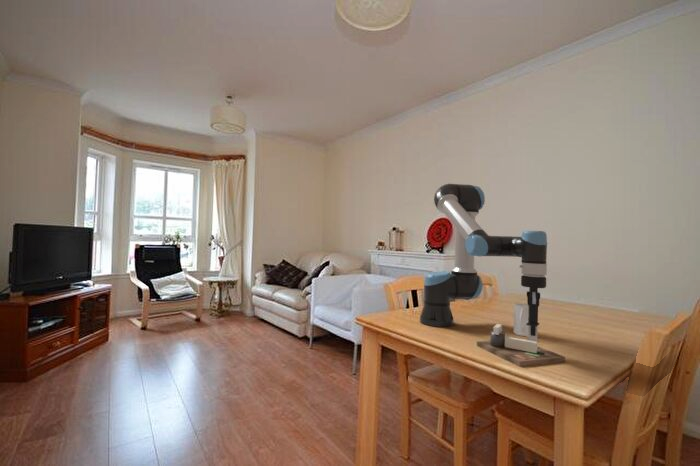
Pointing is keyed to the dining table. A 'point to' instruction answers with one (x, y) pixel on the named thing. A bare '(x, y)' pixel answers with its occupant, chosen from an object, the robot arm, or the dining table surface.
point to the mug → (521, 319)
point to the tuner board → (522, 355)
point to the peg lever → (511, 341)
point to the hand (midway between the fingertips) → (532, 344)
